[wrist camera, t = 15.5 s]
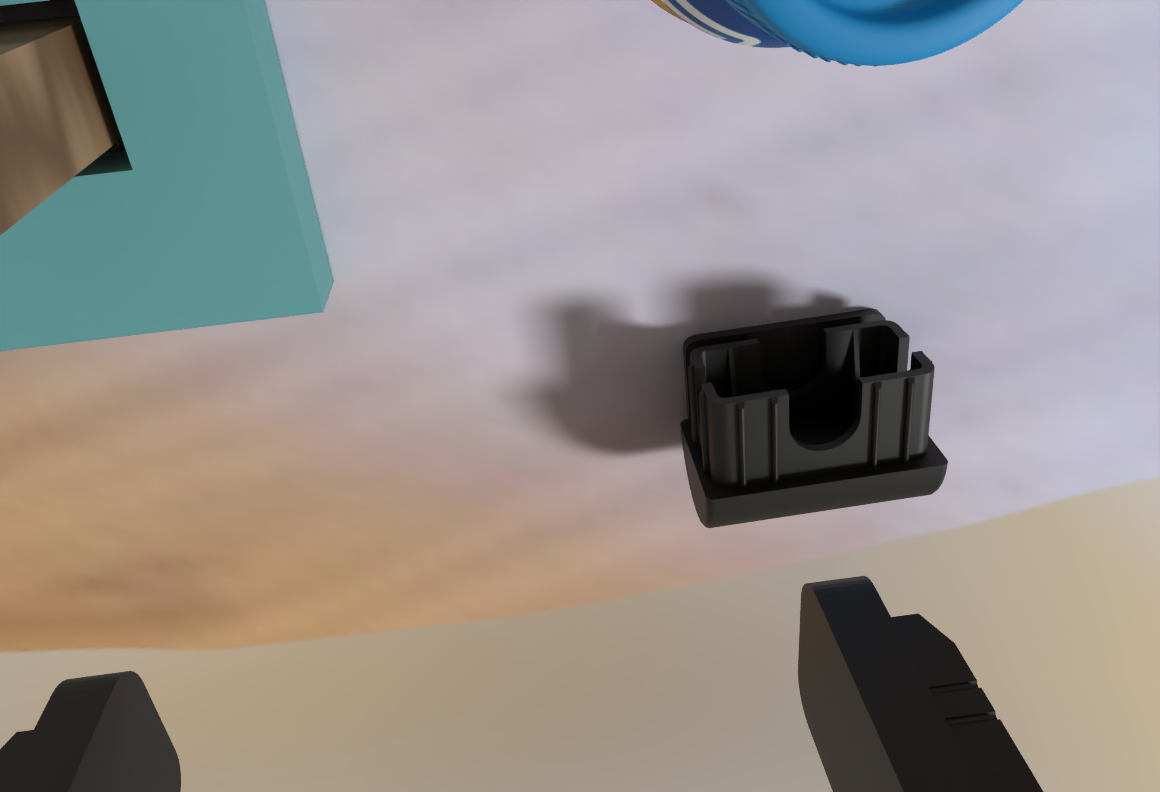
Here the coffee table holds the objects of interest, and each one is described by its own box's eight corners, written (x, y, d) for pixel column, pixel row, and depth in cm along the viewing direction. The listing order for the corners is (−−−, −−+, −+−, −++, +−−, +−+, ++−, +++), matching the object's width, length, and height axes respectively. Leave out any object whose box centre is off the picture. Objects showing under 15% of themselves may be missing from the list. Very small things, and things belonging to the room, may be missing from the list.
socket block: (-318, -193, 29) (-397, -198, 26) (203, -247, 29) (177, -256, 27) (-60, 328, 38) (-100, 363, 35) (333, 281, 38) (322, 312, 36)
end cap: (680, 467, 45) (710, 558, 39) (670, 336, 41) (702, 416, 35) (884, 436, 45) (944, 523, 39) (892, 304, 41) (959, 378, 36)
